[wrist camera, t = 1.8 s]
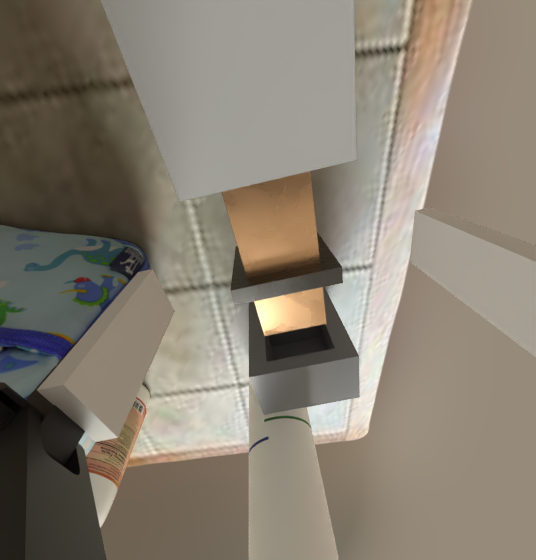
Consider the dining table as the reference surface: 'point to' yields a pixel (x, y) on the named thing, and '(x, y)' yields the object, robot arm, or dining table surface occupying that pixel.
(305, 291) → the square peg
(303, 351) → the socket
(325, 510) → the cylindrical container
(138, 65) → the sleeve
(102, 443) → the fruit juice
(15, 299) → the lunch box
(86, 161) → the dining table surface
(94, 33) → the dining table surface
